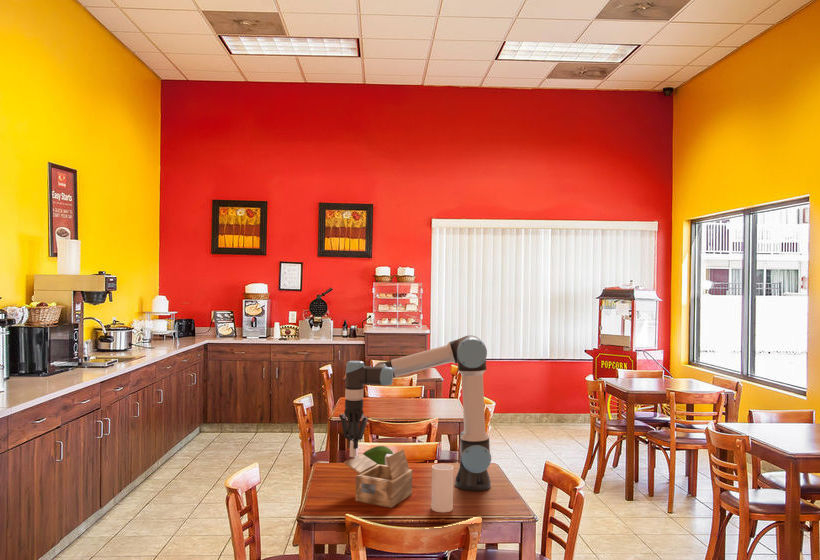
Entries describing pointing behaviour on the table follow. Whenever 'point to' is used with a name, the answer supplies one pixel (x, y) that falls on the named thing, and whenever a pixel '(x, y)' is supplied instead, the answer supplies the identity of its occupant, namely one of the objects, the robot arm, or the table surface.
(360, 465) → the flap
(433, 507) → the cup
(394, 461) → the flap
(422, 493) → the table surface
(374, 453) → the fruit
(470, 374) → the robot arm
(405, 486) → the wooden box
